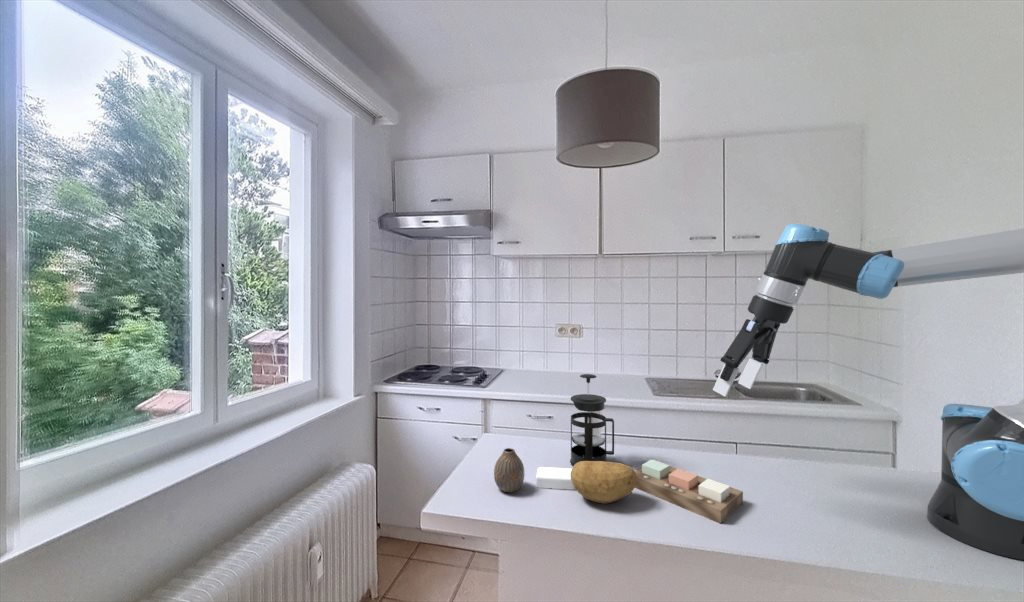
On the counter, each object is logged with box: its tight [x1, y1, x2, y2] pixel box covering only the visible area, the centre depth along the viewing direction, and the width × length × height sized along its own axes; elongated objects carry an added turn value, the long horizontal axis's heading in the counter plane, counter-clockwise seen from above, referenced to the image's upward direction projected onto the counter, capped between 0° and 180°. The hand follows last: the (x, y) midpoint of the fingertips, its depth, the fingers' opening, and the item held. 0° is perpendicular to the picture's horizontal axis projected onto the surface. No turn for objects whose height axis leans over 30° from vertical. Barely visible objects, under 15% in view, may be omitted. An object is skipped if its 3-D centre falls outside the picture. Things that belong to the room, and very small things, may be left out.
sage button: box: [641, 459, 671, 479], centre depth 92 cm, size 4×4×3 cm
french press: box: [569, 373, 615, 467], centre depth 102 cm, size 12×9×23 cm
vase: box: [493, 447, 525, 493], centre depth 90 cm, size 7×7×9 cm
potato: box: [571, 461, 638, 504], centre depth 85 cm, size 10×14×8 cm
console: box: [634, 465, 744, 524], centre depth 87 cm, size 20×11×3 cm, turn 41°
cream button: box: [699, 478, 731, 503], centre depth 82 cm, size 4×4×3 cm
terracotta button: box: [669, 468, 699, 490], centre depth 87 cm, size 4×4×3 cm
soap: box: [535, 466, 576, 491], centre depth 92 cm, size 9×6×3 cm, turn 82°
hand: (732, 389), depth 88 cm, fingers open, 13 cm apart
